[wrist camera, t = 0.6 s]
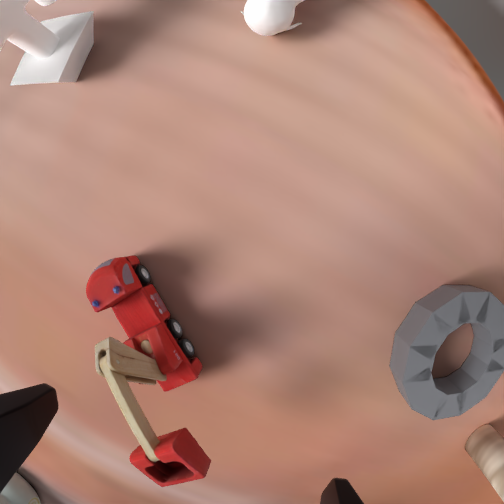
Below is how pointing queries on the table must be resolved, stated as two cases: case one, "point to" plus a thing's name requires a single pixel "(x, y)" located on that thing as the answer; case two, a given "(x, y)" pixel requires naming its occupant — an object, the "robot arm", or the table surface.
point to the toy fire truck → (146, 366)
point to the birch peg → (488, 455)
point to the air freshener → (18, 492)
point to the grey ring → (431, 338)
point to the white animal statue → (270, 15)
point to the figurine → (46, 43)
